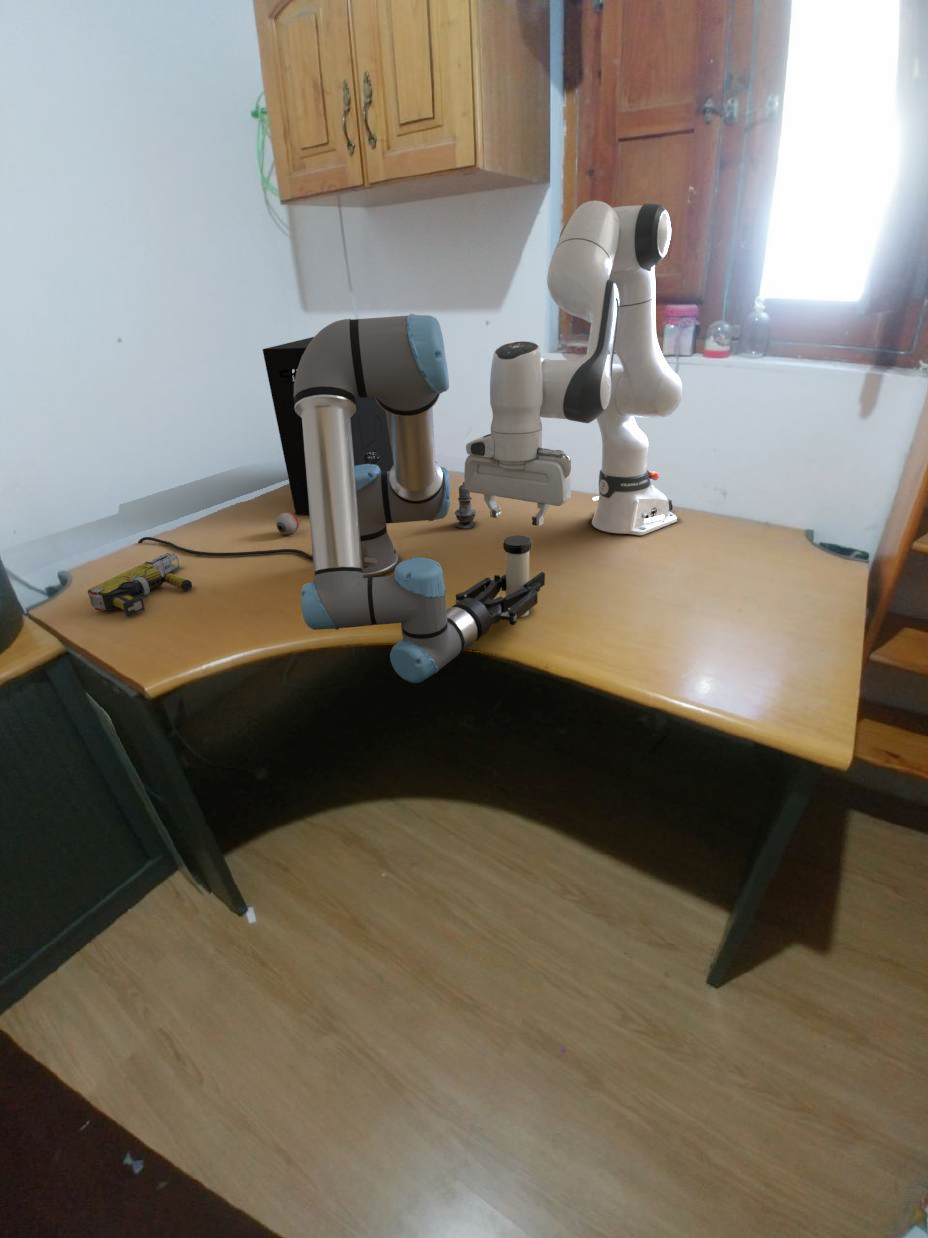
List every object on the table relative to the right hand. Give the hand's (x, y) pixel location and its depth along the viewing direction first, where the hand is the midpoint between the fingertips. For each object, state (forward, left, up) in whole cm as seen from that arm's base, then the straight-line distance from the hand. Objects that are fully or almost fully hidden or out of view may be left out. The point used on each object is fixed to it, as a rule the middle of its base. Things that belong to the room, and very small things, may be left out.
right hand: (516, 520), depth 112 cm
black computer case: (+9, -93, -20) cm, 95 cm away
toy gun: (+67, -49, -20) cm, 85 cm away
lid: (0, 0, -4) cm, 4 cm away
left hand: (-5, -3, -14) cm, 15 cm away
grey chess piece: (-11, -49, -20) cm, 54 cm away
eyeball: (+33, -69, -20) cm, 79 cm away
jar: (0, 0, -20) cm, 20 cm away
